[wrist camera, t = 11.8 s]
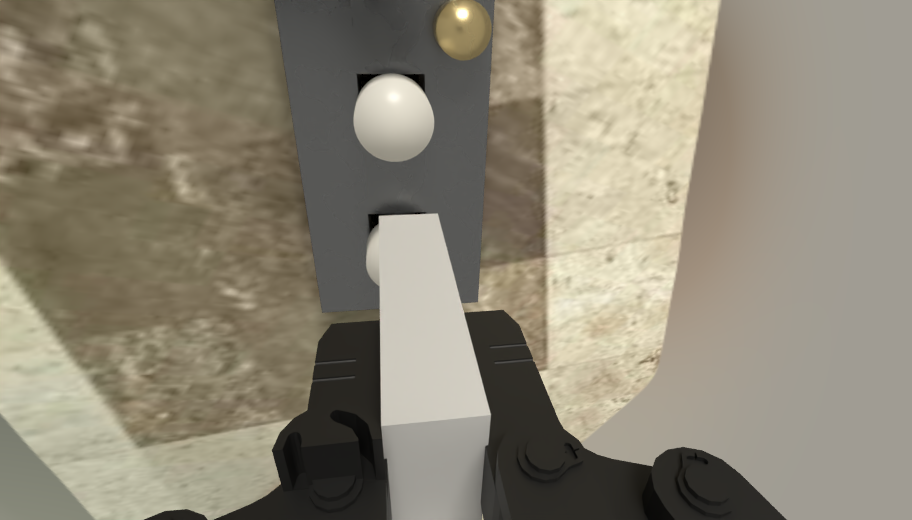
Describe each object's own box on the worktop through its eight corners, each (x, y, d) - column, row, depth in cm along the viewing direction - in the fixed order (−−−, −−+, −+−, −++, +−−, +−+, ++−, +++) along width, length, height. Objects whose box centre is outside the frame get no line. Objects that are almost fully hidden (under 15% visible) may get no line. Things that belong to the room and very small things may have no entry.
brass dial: (432, -3, 26) (436, -2, 24) (485, -2, 26) (493, -1, 25) (433, 55, 27) (436, 60, 26) (483, 55, 28) (490, 60, 26)
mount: (261, -206, 24) (236, -247, 20) (485, -189, 26) (506, -223, 22) (328, 277, 40) (322, 312, 35) (467, 269, 41) (477, 302, 37)
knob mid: (355, 59, 31) (349, 80, 24) (422, 60, 31) (434, 80, 25) (361, 126, 33) (357, 162, 26) (422, 125, 34) (434, 160, 27)
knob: (366, 187, 35) (363, 235, 29) (423, 185, 36) (434, 231, 29) (370, 238, 38) (368, 294, 31) (424, 236, 38) (434, 289, 32)
